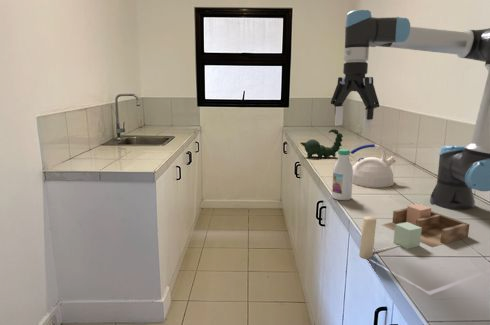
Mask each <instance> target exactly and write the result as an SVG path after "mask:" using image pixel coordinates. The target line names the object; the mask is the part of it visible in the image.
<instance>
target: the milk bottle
mask: <svg viewBox="0 0 490 325" xmlns="http://www.w3.org/2000/svg"><path fill="white" fill-rule="evenodd" d="M350 152H351V150H350V149H345V148H340V149H339V150H338V151H337V156H338V157H337V160H336V162H335V164H334V168H333V172H332V187H331V188H332V190H331V197H332V198H333V199H335V200H338V201H349V200H351V199H352V196H353V195H352V193H353V192H352V191H353V183H352V179H353V169H352V167H353V165H352V163H351V160H350V156H351V153H350Z"/></svg>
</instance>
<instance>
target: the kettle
mask: <svg viewBox="0 0 490 325" xmlns="http://www.w3.org/2000/svg"><path fill="white" fill-rule="evenodd" d="M368 148H377V149H379V150H380V152H381V158H378V157H374V156H371V157H370V156H369V157H368V156H367V157H365V158H364V157H360V158H358V160H357V162H356V163H355V164H353V165H352V169H353V179H352V185H356V186H360V187H365V188H377V189H378V188H388V187H391V186H393V185H394V172H393V169H392V168H391V167H392V165H393V164H395V163H397V160H396V159H395V157H394V156H393V155H392V156H390V157H389V158H387V154H386V150H385V149H384V147H382V146H381V145H379V144H365V145H364V144H363V145H361V146H358V147H356V148H354V149H352V150H350V155H351V154H352V155H354V154H355V153H357V152H358V151H360V150H364V149H368Z"/></svg>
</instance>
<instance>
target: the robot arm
mask: <svg viewBox="0 0 490 325" xmlns="http://www.w3.org/2000/svg"><path fill="white" fill-rule="evenodd" d="M345 20H346V21H345V25H344V28H345V30H344V31H345V32H344V33H345V35H344V52H343V53H344V56H343V57H344V58H343V60H344V63H343V74H344V75H345V76H344V77H343V76H341V77H340V76H338V78H337V85H336V87H335V89H334V93H333V95H332V98H331V101H330V104H331V105H333V106H334V122H335V123H334V126H343V124H344V123H343V121H344V120H343V119H344V106H343V104H344V102H346V99H347V98H348V96H349V95H350V93H352V92H356V93H358V95H359V96H360V98H361V100H362V103H363V104H364V107H365V108H364V109H363V124H362V131H370V130H372V121H373V119H374V110H375V109H377V108H380V102H379V98H378V95H377V93H376V88H375V85H374V77H373V76H366V75H367V74H368V68H369V66H368V62H367V61H369V54H370V52H369V50H370V48H376V47H380V48H381V47H382V48H391V49H392V48H394V49H400V50H401V49H402V50H412V51H420V52H421V51H422V52H431V53H439V54H440V53H441V54H450V55H456V56H457V57H458V58H459V59H460V58H461V59H467V60H473V61H479V62H484V63H485V64H484V67H485V68H486V69H487V71H488V73H487V77H486V82H485V84H484V89H483V93H482V98H481V101H480V105H479V109H478V113H477V116H476V121H475V124H474V129H473V133H472V137H471V140H470V143H468V144H466V145H442V147H441V148H440V151H439V156H438V157H439V160H438V169H437V180H436V184H435V186H434V188H433V190H432V192H431V194H430V197H429V202H430V204H431V205H433V206H434V205H435V206H438V207H440V208H445V209H450V210H460V211H462V210H471V209H474V208H475V204H476V200H475V197H474V196H475V195H474V192H473V190H476V191H479V192H490V27H489V28H483V29H469V28H468V29H465V30H463V31H456V30H446V29H437V28H426V27H419V26H418V27H417V26H411V22H410V19H409V18H407V17H399V16H395V17H373V16H372V12H371V11H370V10H368V9H357V10H351V11H348V13H347V14H346V19H345Z"/></svg>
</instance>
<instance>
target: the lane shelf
mask: <svg viewBox="0 0 490 325" xmlns="http://www.w3.org/2000/svg"><path fill="white" fill-rule="evenodd" d="M407 208H408V207H406V208H401V209H395V210H393V211H392V222H387V223H383V224H382V226H383V227H385V228H388V229H390V230H393V231H394V232H395V224H400V223H405V222H406V219H407ZM415 225H416V226H419V227H421V228H422V231H421V238H420V244H424V245H426V246H428V247H431V248H434V247H437V246H441V245H445V244H448V243H451V242H455V241H458V240H462V239H465V238H468V237H469V230H470V225H471V224H470V223H467V222H464V221H461V220H459V219H456V218H452V217H450V216H447V215H443V214H441V213H437V212H435V211H432V210H431V215H430V216H429V217H425V218H421V219H416V224H415Z"/></svg>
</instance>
